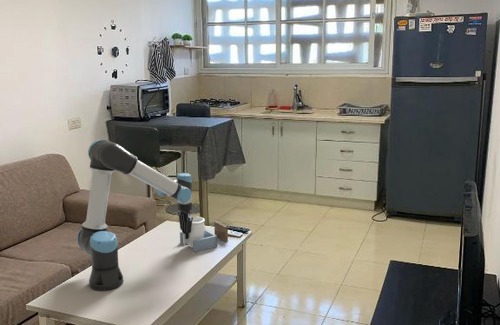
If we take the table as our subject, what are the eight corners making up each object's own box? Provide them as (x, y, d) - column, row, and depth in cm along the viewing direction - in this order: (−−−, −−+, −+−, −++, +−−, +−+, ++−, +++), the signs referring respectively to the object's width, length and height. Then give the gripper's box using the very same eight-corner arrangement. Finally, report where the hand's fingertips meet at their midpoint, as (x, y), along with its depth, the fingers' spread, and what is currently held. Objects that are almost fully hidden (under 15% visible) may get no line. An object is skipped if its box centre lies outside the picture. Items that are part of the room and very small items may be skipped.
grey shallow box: (194, 252, 259) (194, 241, 257) (180, 242, 272) (179, 232, 270) (217, 246, 267) (217, 235, 265) (202, 237, 280) (202, 227, 278)
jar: (204, 249, 263) (204, 222, 260) (185, 249, 263) (184, 222, 260) (205, 241, 274) (205, 216, 270) (187, 241, 273) (186, 216, 270)
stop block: (224, 242, 273) (224, 226, 271) (214, 236, 282) (214, 221, 280) (227, 241, 274) (227, 226, 272) (217, 235, 283) (217, 220, 281)
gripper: (197, 204, 256) (197, 246, 261) (185, 198, 266) (186, 238, 272) (184, 206, 252) (185, 249, 257) (173, 200, 262) (174, 241, 267)
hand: (185, 243), depth 264 cm, fingers closed
